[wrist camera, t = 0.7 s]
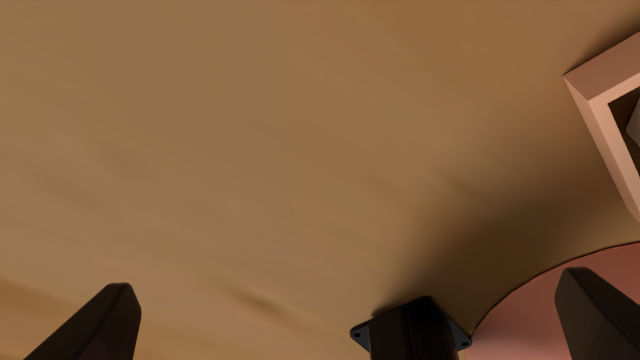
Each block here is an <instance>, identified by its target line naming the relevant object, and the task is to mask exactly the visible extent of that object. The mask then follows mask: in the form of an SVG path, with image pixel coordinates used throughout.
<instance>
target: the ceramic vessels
mask: <svg viewBox="0 0 640 360" xmlns="http://www.w3.org/2000/svg"><path fill="white" fill-rule="evenodd" d="M566 267H587V268H589V269H591V270H592V271H594V272H595V273H596V274H598V275H599V276H600V277H602V278H603V279H605V280H606V281H607V282H609V283H610V284H611V285H613V286H614V287H616V288H617V289H618V290H620V291H621V292H622V293H624V294H625V295H627V296H628V297H629V298H631V299H632V300H633V301H635V302H636V303H638V304H639V305H640V243H636V244H631V245H626V246H621V247H616V248H610V249H606V250H603V251H600V252H597V253H594V254H591V255H588V256H584V257H581V258H578V259H575V260H572V261H570V262H567V263H565V264H563V265H561V266H559V267H557V268H554V269H552V270H550V271H548V272H546V273H543V274H541V275H539V276H537V277H536V278H534V279H533V280H531V281H529V282H528V283H526V284H525V285H523V286H521V287H520V288H518V289H517V290H515V291H513V292H512V293H511V294H509V295H508V296H507V297H506V298H505V299H504V300H502V301H501V302H500V303H499V304H498V305H497V306H495V307H494V308H493V309H492V310H491V311H490V312H489V313H488V314H487V316H486V317H485V318H484V319H483V320H482V322H481V323H480V324H479V325H478V327H477V328H476V329H475V331H474V333H473V335H472V338H471V341H472V345H471V346H470V347H468V348H467V351H466V358H465V360H572V359H571V355H570V352H569V349H568V345H567V342H566V339H565V336H564V332H563V329H562V326H561V323H560V319H559V316H558V313H557V310H556V306H555V302H554V295H555V291H556V288H557V285H558V282H559V280H560V277H561V274H562V271H563V270H564V269H565V268H566Z"/></svg>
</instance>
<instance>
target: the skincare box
mask: <svg viewBox="0 0 640 360" xmlns="http://www.w3.org/2000/svg"><path fill="white" fill-rule="evenodd" d="M626 133H627V134H628V135H629V136H630V137H631V138H632V139H633V140H634V141H635V142H636V143H637V144H638V145H639V147H640V98H639V100H638V102H637V105H636V107H635V109H634V112H633V114H632V116H631V118H630V121H629V123H628V125H627V128H626Z"/></svg>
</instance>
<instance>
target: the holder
mask: <svg viewBox="0 0 640 360" xmlns="http://www.w3.org/2000/svg"><path fill="white" fill-rule="evenodd" d="M563 78H564V80H565V82H566V84H567V86H568V88H569V90H570V92H571V94H572V96H573V98H574V100H575V103H576V105H577V107H578V109H579V111H580V113H581V115H582V117H583V119H584V121H585V123H586V125H587V127H588V129H589V131H590V133H591V136H592V138H593V140H594V142H595V144H596V146H597V148H598V150H599V152H600V154H601V156H602V158H603V160H604V162H605V164H606V166H607V168H608V171H609V173H610V175H611V177H612V179H613V181H614V183H615V185H616V187H617V189H618V191H619V193H620V195H621V197H622V199H623V201H624V203H625V206H626V207H627V208H628V209H629V211H630V212H631V213H632V214H633V216H634V217H635V218H636V219H637V220H638V222H639V223H640V177H639V175H638V172H637V170H636V168H635V165H634V163H633V161H632V159H631V156H630V154H629V152H628V150H627V147H626V145H625V143H624V141H623V138H622V136H621V134H620V131H619V129H618V127H617V125H616V122H615V120H614V118H613V116H612V113H611V111H610V109H609V107H608V104H607V103H609V102H611V101H613V100H615V99H617V98H618V97H620V96H622V95H624V94H626V93H628V92H630V91H631V90H633V89H635V88H637V87H639V86H640V32H638V33H636V34H634V35H633V36H631V37H629V38H627V39H626V40H624V41H622V42H621V43H619V44H617V45H615V46H614V47H612V48H610V49H608V50H607V51H605V52H603V53H602V54H600V55H598V56H596V57H595V58H593V59H591V60H589V61H588V62H586V63H584V64H582V65H581V66H579V67H577V68H576V69H574V70H572V71H570V72H569V73H567V74H565V75H563Z"/></svg>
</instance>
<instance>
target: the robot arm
mask: <svg viewBox="0 0 640 360" xmlns="http://www.w3.org/2000/svg"><path fill="white" fill-rule="evenodd" d="M424 302H428V303H424ZM554 302H555V306H556V310H557V313H558V316H559V319H560V323H561V326H562V329H563V332H564V336H565V339H566V342H567V345H568V349H569V352H570V355H571V359H572V360H640V305H639V304H638V303H636V302H635V301H633V300H632V299H631V298H629V297H628V296H627V295H625V294H624V293H622V292H621V291H620V290H618V289H617V288H616V287H614V286H613V285H611V284H610V283H609V282H607V281H606V280H605V279H603V278H602V277H600V276H599V275H598V274H596V273H595V272H594V271H592V270H591V269H589V268H587V267H566V268H565V269H564V270H563V271H562V274H561V277H560V280H559V282H558V285H557V288H556V291H555V295H554ZM140 322H141V307H140V304H139V302H138V300H137V297H136V295H135V293H134V290H133V288H132V286H131V285H130V284H129V283H110V284H108V285H106V286H105V287H104V288H103V289H102V290H101V291H100V292H98V293H97V294H96V295H95V296H94V297H93V298H92V299H91V300H89V301H88V302H87V303H86V304H85V305H84V306H83V307H82V308H80V309H79V310H78V311H77V312H76V313H75V314H74V315H73V316H72V317H70V318H69V319H68V320H67V321H66V322H65V323H64V324H63V325H61V326H60V327H59V328H58V329H57V330H56V331H55V332H54V333H52V334H51V335H50V336H49V337H48V338H47V339H46V340H45V341H43V342H42V343H41V344H40V345H39V346H38V347H37V348H36V349H34V350H33V351H32V352H31V353H30V354H29V355H28V356H27V357H26V358H24V359H23V360H133V356H134V351H135V346H136V341H137V336H138V331H139V326H140ZM355 333H358V334H355ZM350 337H351V338H352V339H353V340H355V341H356V342H357V343H358V344H359V345H361V346H362V347H363V348H364V349H365V350H367V351H368V352H369V353H370V359H371V360H459V356H458V351H461V350H463V349H466V348H468V347H470V346H471V345H472V341H471V338H470V337H469V336H468V335H467V334H466V333H465V332H464V331H463V330H462V329H461V328H460V327H459V325H458V324H457V323H456V322H455V321H454V320H453V319H452V318H451V317H450V316H449V315H448V314H447V313H446V312H445V311H444V310H443V309H442V308H441V307H440V305H439V304H438V303H437V302H436V301H435V300H434V299H433V298H432V297H430V296H422V297H420V298H418V299H416V300H413V301H411V302H409V303H407V304H405V305H402V306H400V307H398V308H396V309H394V310H391V311H389V312H387V313H385V314H383V315H380V316H378V317H376V318H374V319H371V320H369V321H367V322H365V323H363V324H360V325H358V326H356V327H354V328H352V329H351V330H350ZM463 342H464V343H463Z"/></svg>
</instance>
